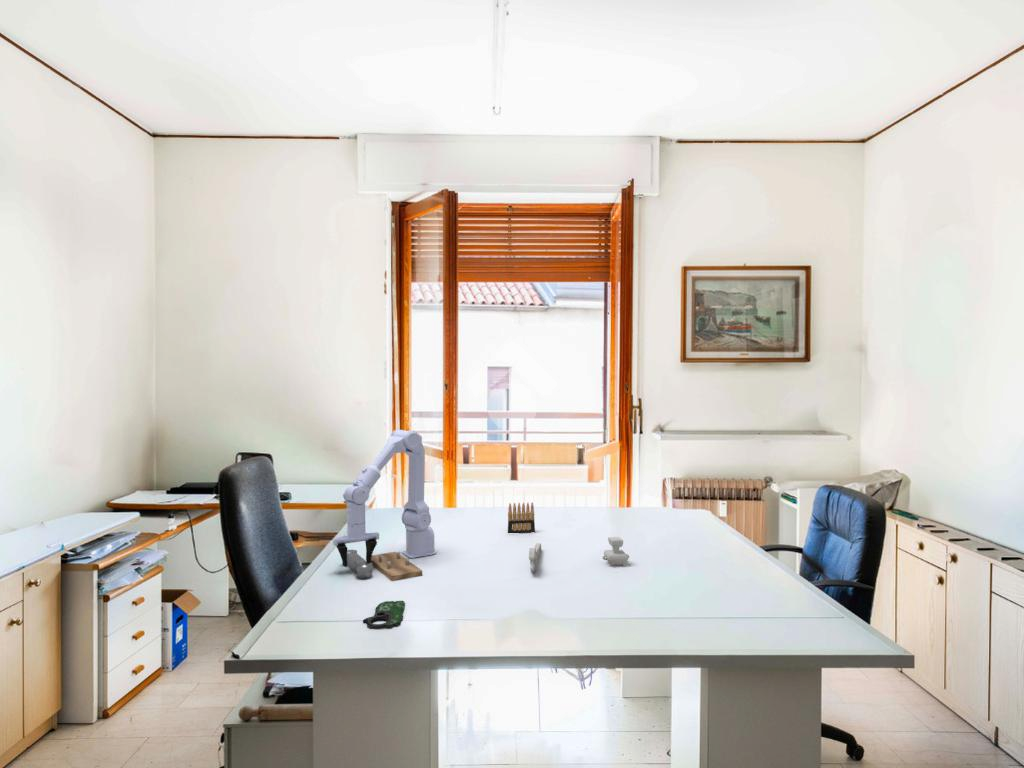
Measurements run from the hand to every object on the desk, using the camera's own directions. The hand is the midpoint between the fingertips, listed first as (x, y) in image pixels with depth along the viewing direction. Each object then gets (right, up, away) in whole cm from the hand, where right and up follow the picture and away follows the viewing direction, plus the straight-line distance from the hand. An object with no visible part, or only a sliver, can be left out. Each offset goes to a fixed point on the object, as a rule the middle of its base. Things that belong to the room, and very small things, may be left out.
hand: (356, 564), depth 202 cm
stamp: (+84, -1, +5) cm, 85 cm away
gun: (+17, -3, -38) cm, 41 cm away
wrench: (+58, -2, +6) cm, 58 cm away
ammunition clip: (+54, -1, +45) cm, 70 cm away
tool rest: (+12, -2, +2) cm, 12 cm away
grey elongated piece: (0, -2, 0) cm, 2 cm away
